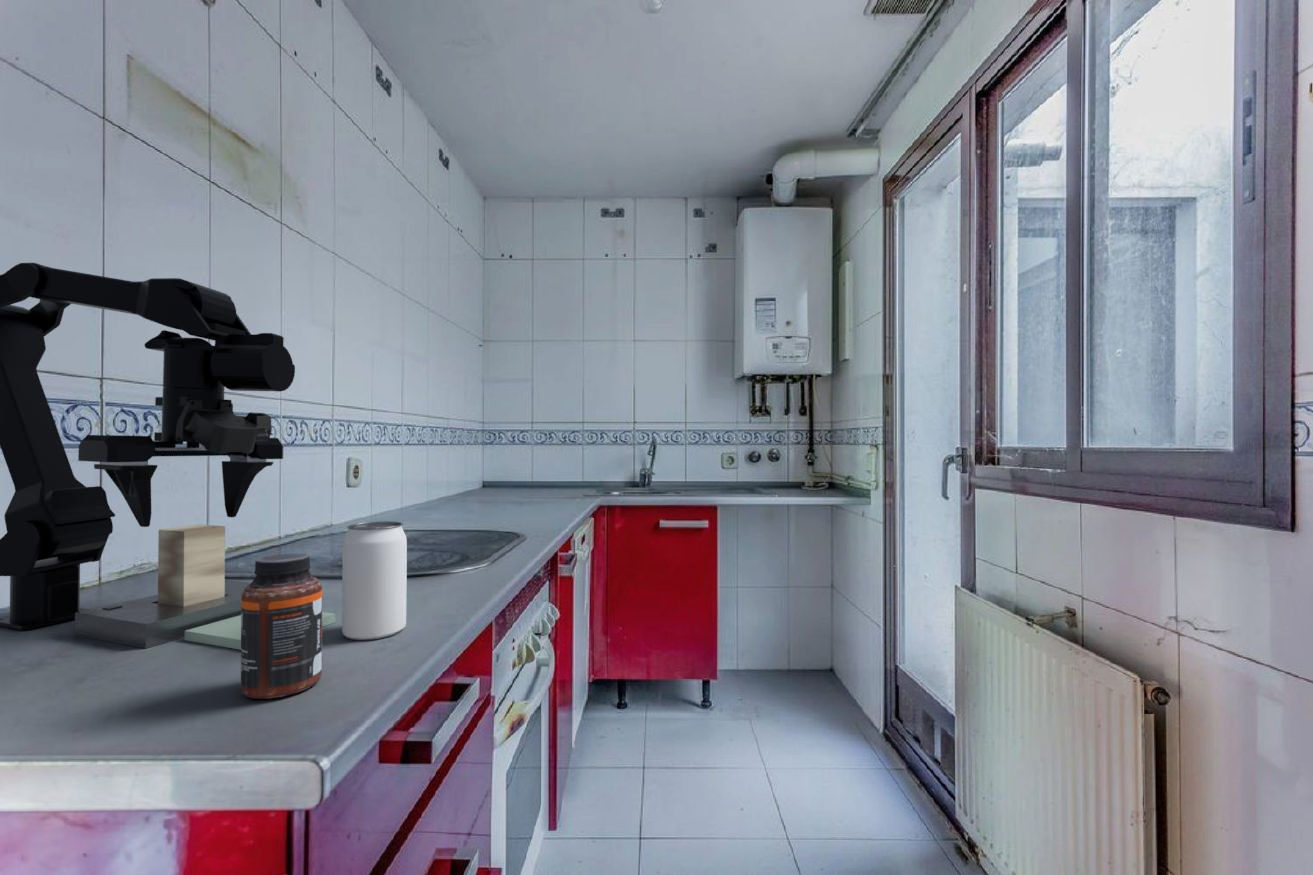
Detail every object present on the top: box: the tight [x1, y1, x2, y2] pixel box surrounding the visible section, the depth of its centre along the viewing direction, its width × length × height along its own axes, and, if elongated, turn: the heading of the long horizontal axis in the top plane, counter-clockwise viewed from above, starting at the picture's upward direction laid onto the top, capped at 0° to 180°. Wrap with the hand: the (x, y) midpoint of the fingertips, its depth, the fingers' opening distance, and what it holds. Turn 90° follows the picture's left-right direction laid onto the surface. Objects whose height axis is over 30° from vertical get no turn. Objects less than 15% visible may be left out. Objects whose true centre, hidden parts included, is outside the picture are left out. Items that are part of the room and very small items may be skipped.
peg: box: [157, 524, 226, 607], centre depth 69 cm, size 4×4×11 cm
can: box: [341, 520, 408, 642], centre depth 64 cm, size 6×6×12 cm
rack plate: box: [74, 579, 252, 649], centre depth 69 cm, size 12×16×3 cm
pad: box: [184, 611, 336, 651], centre depth 65 cm, size 10×10×1 cm
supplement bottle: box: [240, 552, 323, 700], centre depth 50 cm, size 6×6×11 cm
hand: (190, 521), depth 68 cm, fingers open, 9 cm apart
